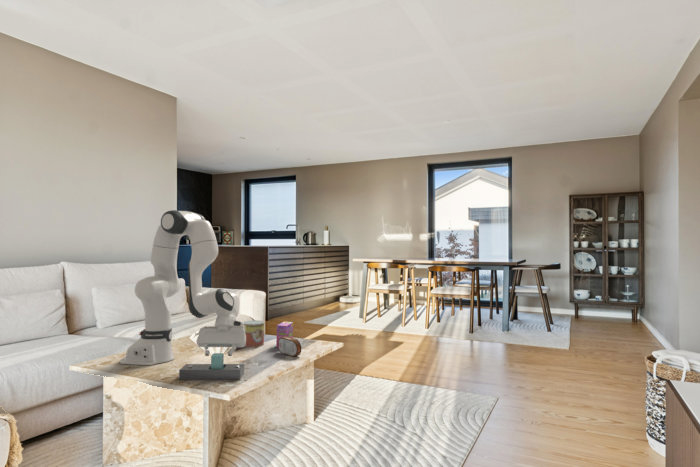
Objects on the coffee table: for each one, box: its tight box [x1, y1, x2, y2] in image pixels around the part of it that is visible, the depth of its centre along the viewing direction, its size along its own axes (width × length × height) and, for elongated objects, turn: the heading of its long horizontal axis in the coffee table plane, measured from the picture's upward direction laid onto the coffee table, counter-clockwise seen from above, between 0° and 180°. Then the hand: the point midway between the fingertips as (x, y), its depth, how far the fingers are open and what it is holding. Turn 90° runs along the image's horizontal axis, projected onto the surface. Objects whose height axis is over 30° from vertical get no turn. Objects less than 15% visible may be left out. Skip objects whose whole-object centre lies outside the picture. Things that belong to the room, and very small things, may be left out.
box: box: [275, 321, 294, 349], centre depth 224 cm, size 10×6×12 cm, turn 168°
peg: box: [210, 352, 225, 369], centre depth 172 cm, size 4×4×9 cm
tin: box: [278, 336, 302, 357], centre depth 206 cm, size 15×3×8 cm, turn 48°
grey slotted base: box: [178, 363, 245, 381], centre depth 172 cm, size 24×8×4 cm, turn 93°
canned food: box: [242, 319, 265, 348], centre depth 225 cm, size 11×11×12 cm
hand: (218, 355), depth 174 cm, fingers open, 8 cm apart
